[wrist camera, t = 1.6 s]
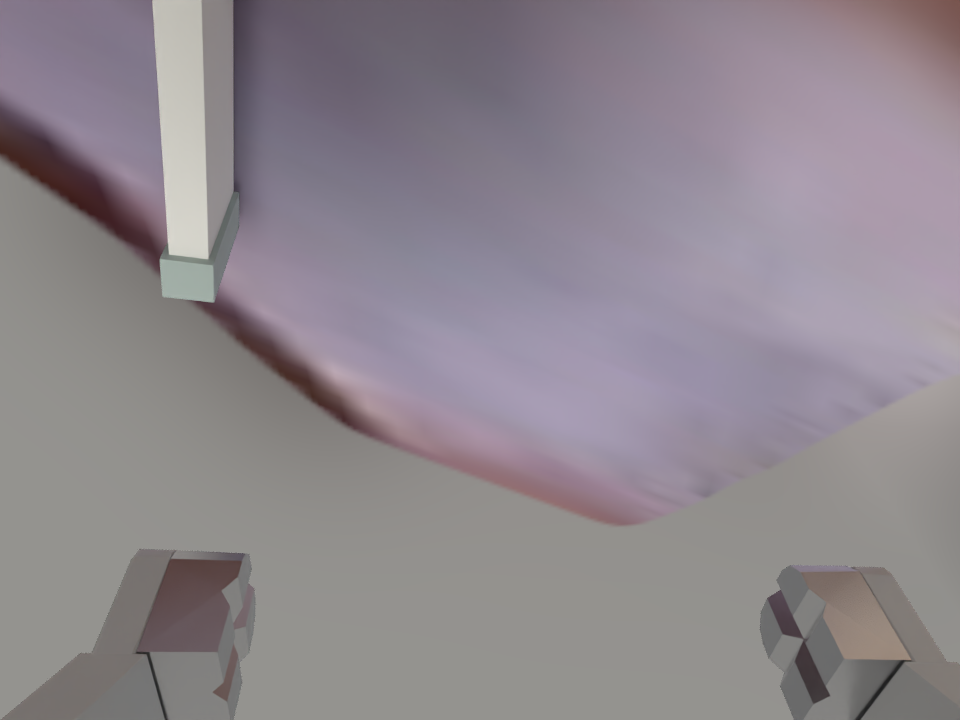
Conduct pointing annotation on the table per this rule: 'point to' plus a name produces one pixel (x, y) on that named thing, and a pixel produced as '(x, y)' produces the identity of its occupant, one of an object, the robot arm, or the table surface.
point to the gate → (196, 143)
